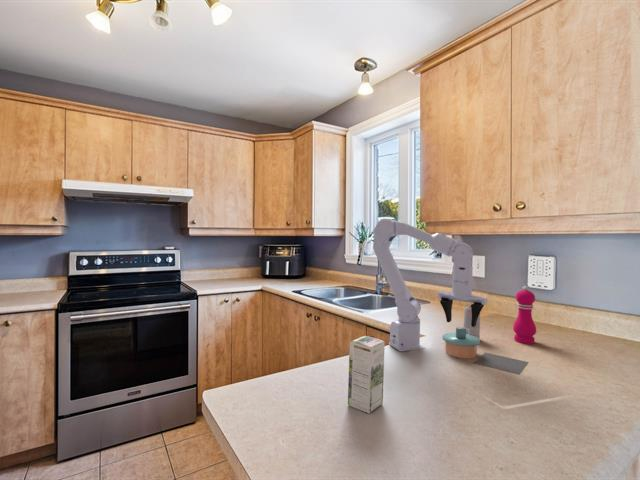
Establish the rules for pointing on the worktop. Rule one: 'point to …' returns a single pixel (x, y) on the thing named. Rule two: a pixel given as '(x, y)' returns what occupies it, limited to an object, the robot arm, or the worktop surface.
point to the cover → (461, 338)
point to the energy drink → (467, 323)
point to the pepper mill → (524, 317)
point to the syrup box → (366, 373)
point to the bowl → (460, 350)
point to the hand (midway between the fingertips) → (461, 323)
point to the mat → (501, 363)
